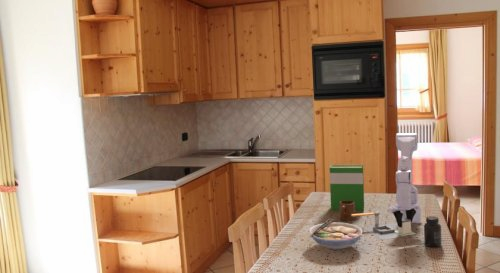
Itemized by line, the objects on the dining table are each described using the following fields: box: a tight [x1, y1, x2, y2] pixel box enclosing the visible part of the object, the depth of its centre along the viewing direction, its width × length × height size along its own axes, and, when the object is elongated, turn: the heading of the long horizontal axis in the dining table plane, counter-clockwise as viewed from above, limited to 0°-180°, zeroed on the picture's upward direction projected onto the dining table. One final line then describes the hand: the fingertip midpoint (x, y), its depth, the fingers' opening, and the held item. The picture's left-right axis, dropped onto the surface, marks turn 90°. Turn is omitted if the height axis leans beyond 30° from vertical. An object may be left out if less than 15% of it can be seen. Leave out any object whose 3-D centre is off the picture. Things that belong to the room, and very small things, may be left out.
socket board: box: [362, 214, 417, 241], centre depth 209 cm, size 18×18×7 cm
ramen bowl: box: [308, 218, 364, 251], centre depth 194 cm, size 25×23×8 cm
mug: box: [339, 201, 356, 223], centre depth 228 cm, size 12×8×9 cm, turn 149°
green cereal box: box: [329, 164, 365, 212], centre depth 249 cm, size 18×7×24 cm, turn 74°
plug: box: [398, 218, 412, 234], centre depth 205 cm, size 4×4×6 cm
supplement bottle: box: [423, 215, 443, 248], centre depth 190 cm, size 7×7×12 cm
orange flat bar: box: [351, 211, 380, 217], centre depth 214 cm, size 3×13×1 cm, turn 93°
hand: (404, 225), depth 205 cm, fingers open, 4 cm apart
